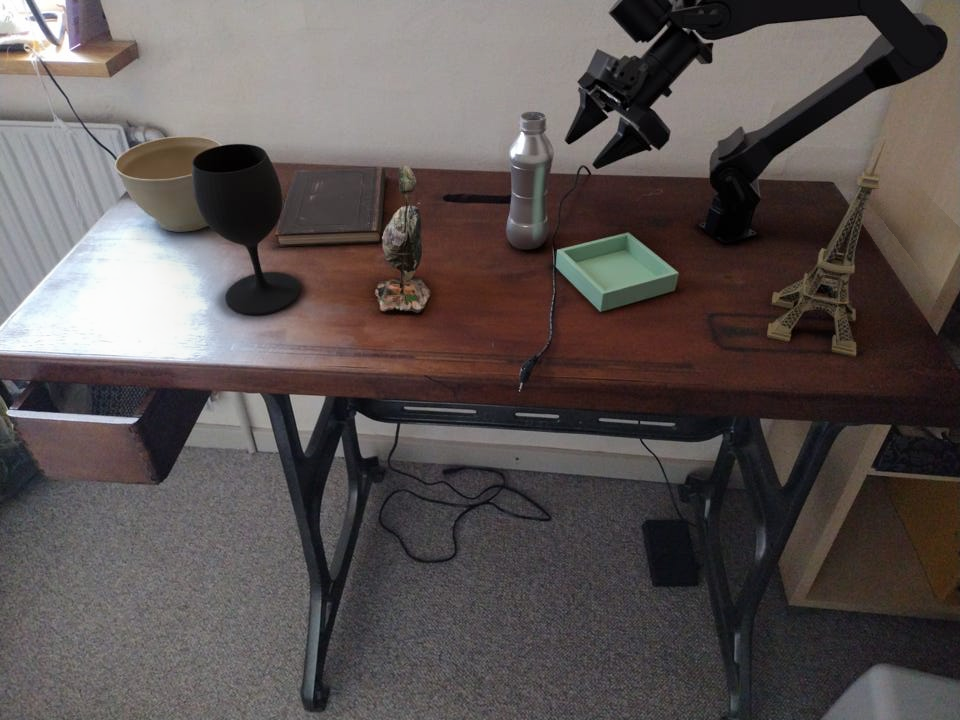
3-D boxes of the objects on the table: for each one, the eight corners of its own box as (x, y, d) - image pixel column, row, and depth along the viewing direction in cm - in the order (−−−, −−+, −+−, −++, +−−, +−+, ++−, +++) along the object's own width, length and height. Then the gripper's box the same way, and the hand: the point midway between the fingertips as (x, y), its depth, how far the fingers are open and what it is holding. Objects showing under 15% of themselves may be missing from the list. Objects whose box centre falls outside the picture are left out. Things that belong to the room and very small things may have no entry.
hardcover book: (277, 247, 104) (274, 234, 102) (297, 181, 121) (295, 169, 120) (381, 243, 105) (380, 230, 103) (386, 178, 122) (384, 166, 121)
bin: (625, 249, 103) (628, 232, 101) (675, 290, 95) (679, 272, 93) (555, 267, 99) (556, 249, 98) (600, 312, 91) (603, 293, 89)
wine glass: (234, 324, 89) (192, 183, 76) (218, 285, 96) (178, 150, 83) (310, 303, 92) (283, 165, 79) (290, 267, 99) (262, 135, 87)
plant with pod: (441, 274, 98) (435, 141, 85) (422, 320, 89) (412, 180, 76) (387, 269, 99) (373, 137, 86) (363, 313, 90) (344, 174, 78)
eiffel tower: (766, 336, 87) (832, 150, 71) (773, 293, 94) (833, 116, 78) (855, 356, 84) (945, 166, 67) (854, 310, 91) (935, 129, 75)
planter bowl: (118, 241, 105) (92, 175, 98) (167, 194, 117) (147, 133, 110) (216, 247, 104) (197, 181, 97) (255, 199, 116) (240, 138, 109)
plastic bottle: (499, 250, 103) (502, 121, 90) (514, 230, 108) (519, 104, 95) (539, 258, 101) (548, 128, 88) (552, 237, 106) (562, 111, 93)
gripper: (596, 10, 95) (521, 98, 100) (666, 46, 82) (576, 146, 86) (636, 63, 102) (565, 143, 107) (707, 103, 89) (622, 193, 93)
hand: (580, 154), depth 98 cm, fingers open, 9 cm apart
